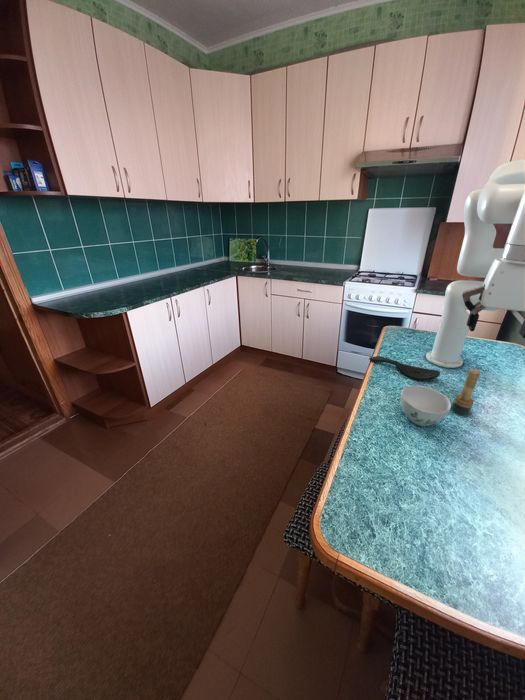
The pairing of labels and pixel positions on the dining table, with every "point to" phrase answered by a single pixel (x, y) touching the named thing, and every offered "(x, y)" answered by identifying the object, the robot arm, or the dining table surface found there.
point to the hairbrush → (410, 369)
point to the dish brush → (466, 394)
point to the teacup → (424, 405)
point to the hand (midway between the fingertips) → (496, 332)
